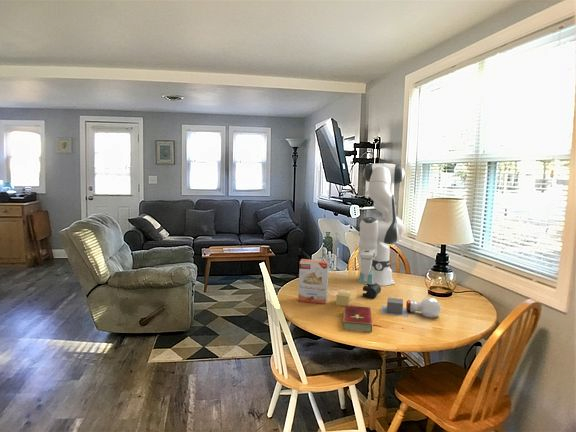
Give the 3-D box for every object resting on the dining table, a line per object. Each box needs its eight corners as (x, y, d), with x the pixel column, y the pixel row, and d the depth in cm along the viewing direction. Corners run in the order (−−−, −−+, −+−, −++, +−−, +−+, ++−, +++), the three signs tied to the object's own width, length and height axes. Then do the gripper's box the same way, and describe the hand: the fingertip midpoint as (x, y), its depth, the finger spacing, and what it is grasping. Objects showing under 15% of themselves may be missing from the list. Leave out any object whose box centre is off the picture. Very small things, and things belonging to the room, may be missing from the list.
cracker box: (297, 301, 205) (299, 261, 202) (300, 298, 211) (301, 258, 208) (325, 304, 202) (327, 263, 199) (327, 300, 208) (328, 260, 205)
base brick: (387, 307, 197) (387, 297, 197) (402, 309, 195) (402, 299, 195) (386, 312, 190) (387, 302, 190) (402, 314, 189) (402, 303, 188)
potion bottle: (441, 323, 185) (408, 320, 193) (444, 306, 191) (411, 304, 199) (438, 310, 180) (403, 307, 187) (441, 293, 186) (407, 291, 194)
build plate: (382, 307, 200) (382, 305, 200) (407, 310, 197) (407, 308, 197) (380, 315, 189) (380, 313, 189) (407, 318, 186) (408, 316, 186)
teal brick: (360, 279, 204) (361, 269, 204) (372, 281, 203) (373, 271, 202) (359, 283, 199) (359, 273, 198) (371, 284, 197) (372, 274, 196)
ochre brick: (337, 301, 208) (338, 291, 207) (349, 302, 206) (350, 293, 206) (335, 304, 202) (336, 295, 202) (348, 306, 201) (348, 296, 200)
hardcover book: (370, 315, 190) (370, 306, 190) (371, 333, 170) (372, 323, 169) (344, 313, 192) (344, 304, 192) (342, 330, 172) (343, 321, 171)
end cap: (375, 301, 209) (376, 288, 208) (362, 299, 213) (362, 286, 212) (380, 296, 218) (381, 283, 217) (367, 293, 221) (368, 281, 221)
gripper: (363, 246, 209) (361, 272, 211) (359, 255, 190) (357, 284, 192) (375, 247, 207) (374, 273, 209) (372, 256, 188) (371, 285, 190)
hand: (366, 278), depth 200 cm, fingers closed on teal brick, 6 cm apart
